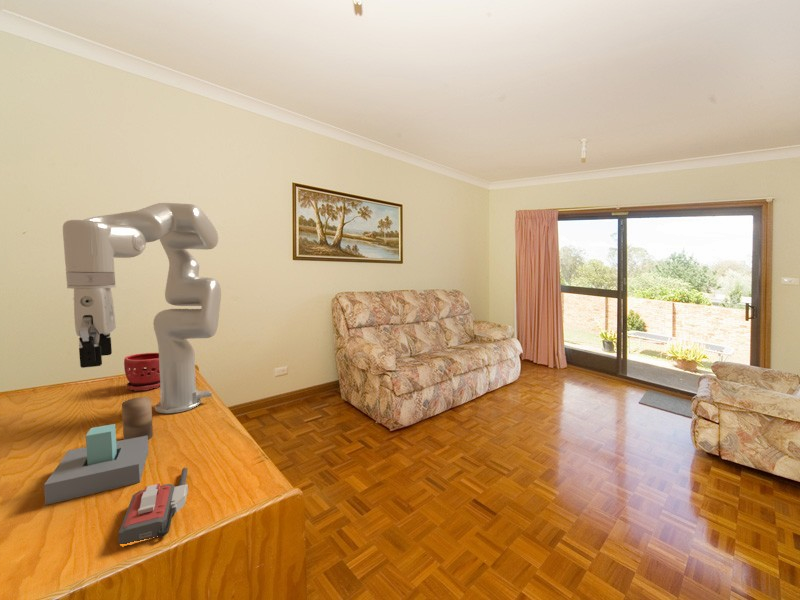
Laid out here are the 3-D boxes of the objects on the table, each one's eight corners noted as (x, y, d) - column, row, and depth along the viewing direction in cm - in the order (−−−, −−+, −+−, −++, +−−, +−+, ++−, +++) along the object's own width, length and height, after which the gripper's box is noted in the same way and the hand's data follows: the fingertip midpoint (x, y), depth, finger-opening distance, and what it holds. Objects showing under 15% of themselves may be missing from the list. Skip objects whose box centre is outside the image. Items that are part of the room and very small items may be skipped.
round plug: (154, 431, 92) (152, 395, 91) (151, 440, 87) (149, 403, 86) (126, 436, 89) (124, 399, 88) (121, 446, 84) (119, 407, 83)
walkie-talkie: (181, 537, 56) (191, 473, 74) (180, 512, 56) (190, 454, 74) (114, 557, 52) (141, 484, 70) (112, 530, 52) (140, 464, 69)
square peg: (117, 467, 75) (115, 423, 74) (113, 476, 72) (111, 431, 71) (93, 472, 73) (91, 427, 72) (88, 482, 70) (85, 435, 69)
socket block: (148, 451, 82) (147, 435, 82) (139, 482, 70) (138, 463, 70) (70, 467, 75) (69, 450, 74) (45, 505, 63) (44, 484, 62)
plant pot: (145, 394, 119) (143, 361, 118) (116, 391, 122) (114, 358, 121) (177, 383, 132) (176, 352, 131) (150, 380, 135) (149, 350, 134)
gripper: (106, 282, 65) (111, 368, 67) (122, 279, 80) (126, 350, 82) (52, 282, 61) (59, 374, 63) (79, 279, 76) (84, 353, 78)
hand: (97, 360), depth 72 cm, fingers open, 9 cm apart
